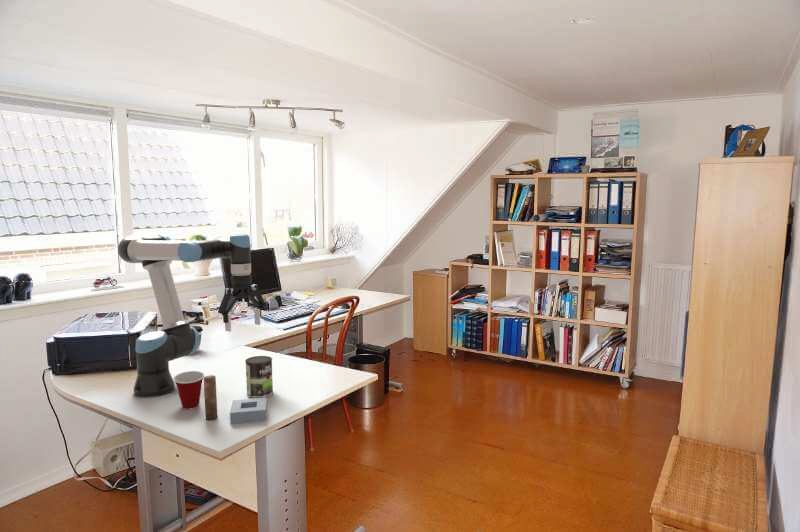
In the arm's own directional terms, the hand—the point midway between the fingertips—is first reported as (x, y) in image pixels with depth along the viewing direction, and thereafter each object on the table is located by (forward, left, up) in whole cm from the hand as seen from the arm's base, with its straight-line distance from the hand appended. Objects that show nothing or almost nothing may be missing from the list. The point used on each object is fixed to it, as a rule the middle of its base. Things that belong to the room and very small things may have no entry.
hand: (243, 327), depth 209 cm
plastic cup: (-20, -9, -27) cm, 35 cm away
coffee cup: (-31, +70, -27) cm, 81 cm away
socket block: (+2, -23, -27) cm, 35 cm away
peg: (-11, -22, -27) cm, 36 cm away
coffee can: (+5, -1, -27) cm, 28 cm away
